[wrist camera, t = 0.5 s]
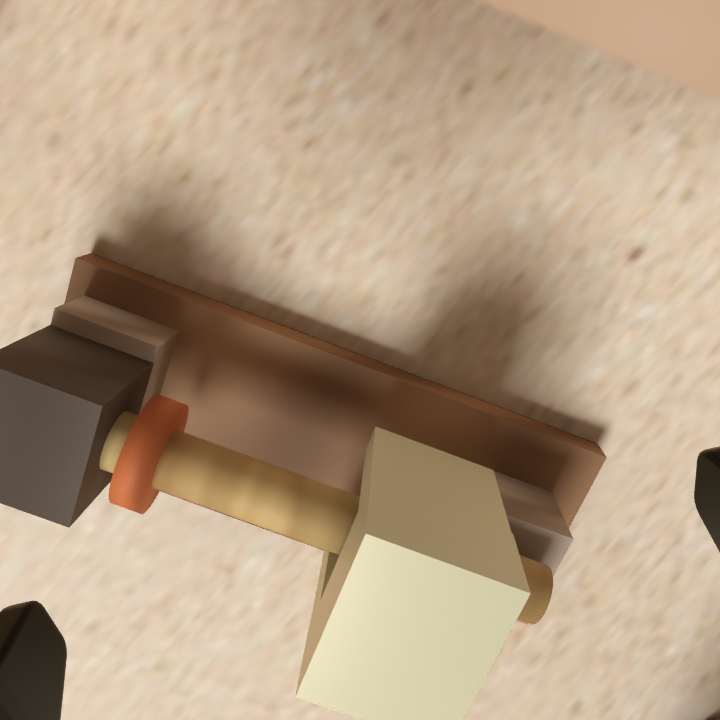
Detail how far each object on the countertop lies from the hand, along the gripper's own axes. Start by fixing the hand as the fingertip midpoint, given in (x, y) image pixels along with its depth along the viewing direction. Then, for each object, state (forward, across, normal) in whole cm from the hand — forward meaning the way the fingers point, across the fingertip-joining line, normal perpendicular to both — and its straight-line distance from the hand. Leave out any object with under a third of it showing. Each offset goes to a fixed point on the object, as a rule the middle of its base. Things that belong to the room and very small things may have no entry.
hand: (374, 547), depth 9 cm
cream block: (+8, -1, +7) cm, 11 cm away
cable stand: (+12, +2, +6) cm, 13 cm away
